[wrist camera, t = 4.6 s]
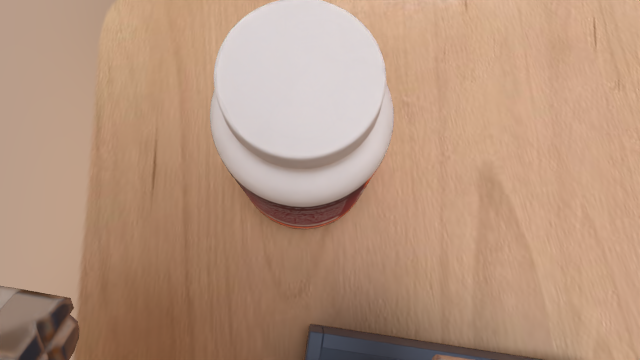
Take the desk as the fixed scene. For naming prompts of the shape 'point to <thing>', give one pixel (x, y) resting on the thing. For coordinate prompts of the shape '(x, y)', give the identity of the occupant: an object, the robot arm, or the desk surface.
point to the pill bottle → (301, 110)
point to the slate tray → (384, 347)
